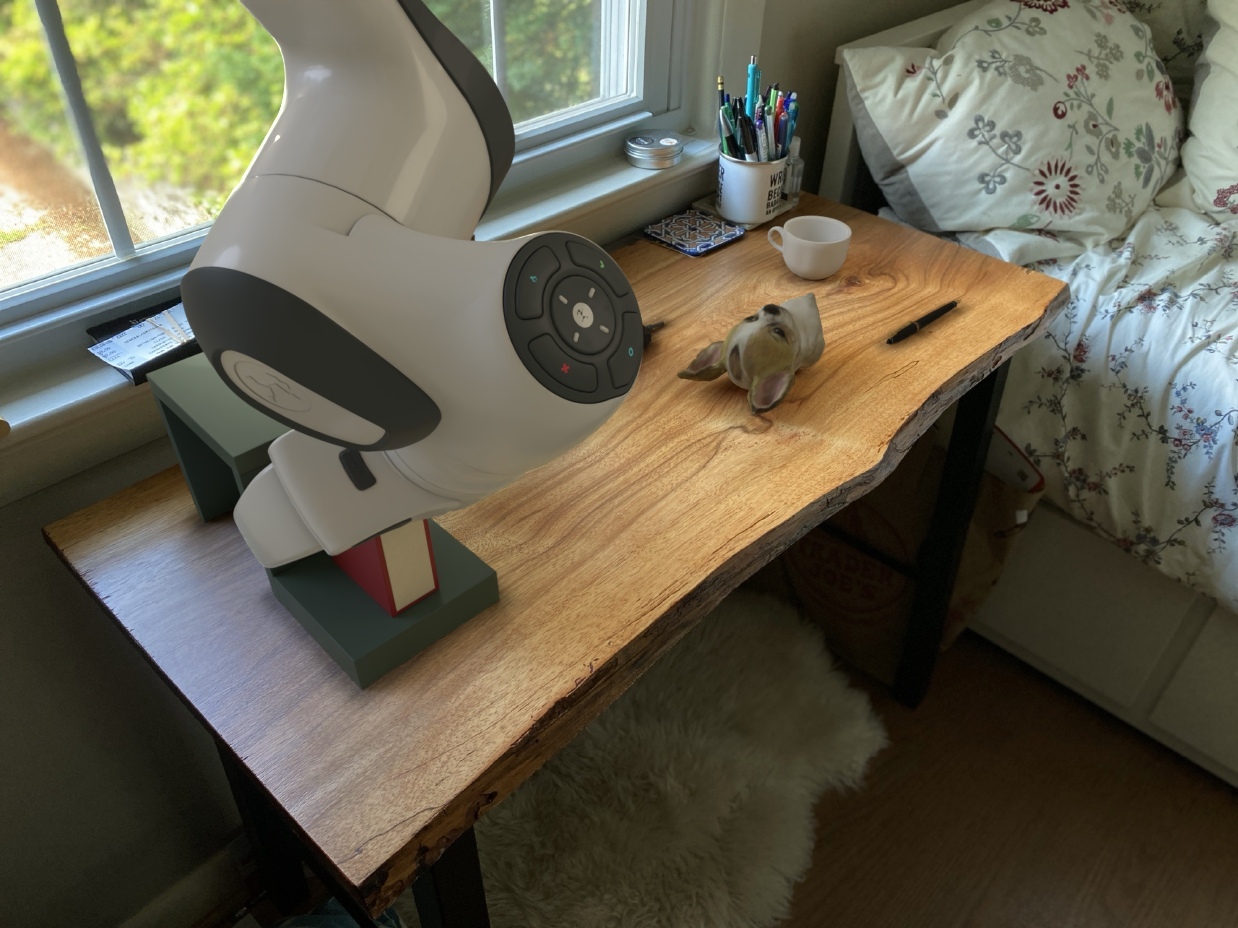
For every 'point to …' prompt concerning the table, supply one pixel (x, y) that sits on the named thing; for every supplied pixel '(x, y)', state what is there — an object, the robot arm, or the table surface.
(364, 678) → the shelf
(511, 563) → the table surface
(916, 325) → the fountain pen
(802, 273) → the teacup
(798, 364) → the ceramic sculpture
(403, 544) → the book
